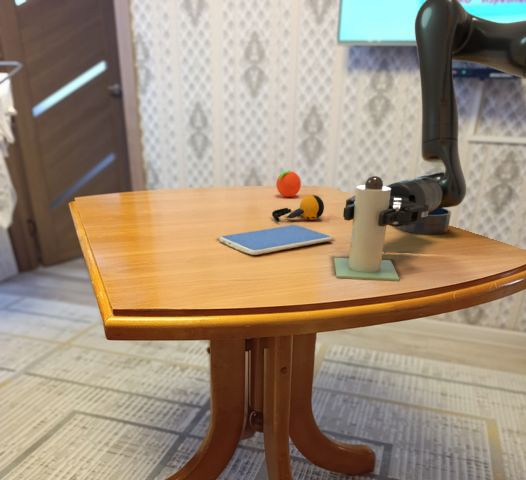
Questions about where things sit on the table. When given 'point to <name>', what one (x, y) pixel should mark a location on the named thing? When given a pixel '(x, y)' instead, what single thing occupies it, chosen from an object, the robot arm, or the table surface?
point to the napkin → (383, 274)
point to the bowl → (431, 223)
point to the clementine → (288, 184)
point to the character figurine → (303, 209)
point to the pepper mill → (368, 226)
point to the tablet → (274, 239)
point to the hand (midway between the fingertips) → (363, 216)
